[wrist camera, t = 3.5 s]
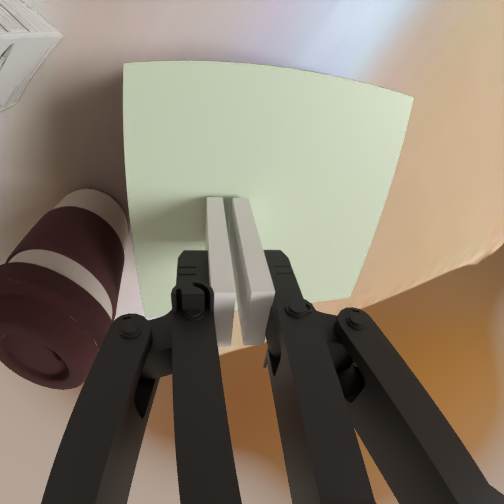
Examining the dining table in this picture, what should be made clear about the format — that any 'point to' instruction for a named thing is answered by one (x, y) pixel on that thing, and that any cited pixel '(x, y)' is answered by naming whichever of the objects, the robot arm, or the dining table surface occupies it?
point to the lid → (257, 166)
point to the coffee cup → (63, 290)
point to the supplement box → (21, 48)
